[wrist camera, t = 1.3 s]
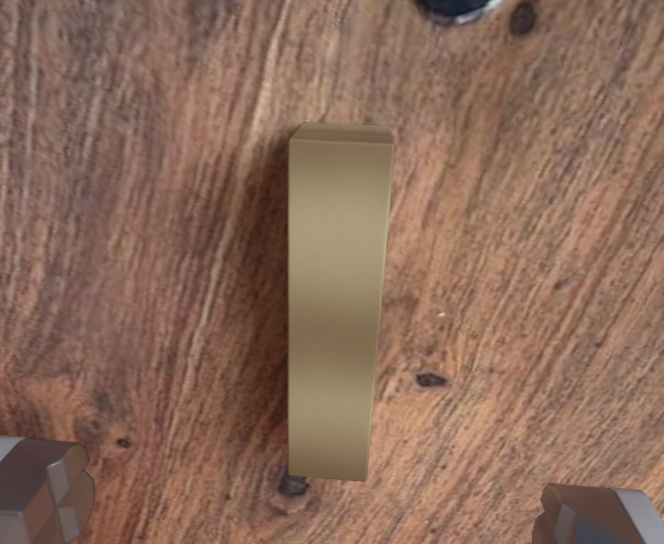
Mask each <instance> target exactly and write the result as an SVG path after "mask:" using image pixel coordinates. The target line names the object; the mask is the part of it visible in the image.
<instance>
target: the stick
mask: <svg viewBox="0 0 664 544" xmlns="http://www.w3.org/2000/svg"><path fill="white" fill-rule="evenodd" d="M394 155H395V144H394V139H393V135H392V130H391V127H390V126H379V125H358V124H337V123H316V122H304V123H303V124H302V125H301V126H300V127H299V128H298V129H297V131H296V132H295V133H294V134H293V135H292V136H291V137H290V138H289V140H288V475H292V476H304V477H316V478H327V479H339V480H351V481H363V482H364V481H366V479H367V472H368V460H369V448H370V437H371V425H372V413H373V401H374V390H375V378H376V366H377V354H378V343H379V331H380V319H381V307H382V296H383V284H384V272H385V260H386V249H387V237H388V225H389V214H390V202H391V190H392V178H393V167H394Z"/></svg>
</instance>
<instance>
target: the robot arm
mask: <svg viewBox="0 0 664 544" xmlns="http://www.w3.org/2000/svg"><path fill="white" fill-rule="evenodd" d="M89 460H90V459H89V455H88V451H87V447H86V446H85V445H83V444H80V443H74V442H65V441H56V440H47V439H39V438H30V437H28V438H24V437H15V436H7V435H0V544H67V543H69V542H70V541H72V540H73V539H75V538H76V537H78V536H79V535H80V534H81V533H82V531H83V529H84V527H85V526H86V524H87V522H88V521H89V518H90V515H91V512H92V509H93V506H94V502H95V485H94V480H93V478H92V477H91V476H90V475H89V474H88V473H87V472H86V471H85V470H84V468H85V466H86V465H87V463H88V462H89ZM541 502H542V505H543V508H544V511H545V512H544V513H542V514H541V515H540V516H538V517H537V518H536V519H535V522H534V527H533V531H532V544H664V522H663V520H662V519H661V517H660V516H659V514H658V512H657V511H656V509H655V508H654V506H653V504H652V503H651V501H650V500H649V498H648V496H647V495H646V494H645V493H643V492H642V491H641V490H635V489H621V488H605V487H593V486H580V485H567V484H554V483H548V484H547V485H546V486H545V488H544V490H543V493H542V496H541Z"/></svg>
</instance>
